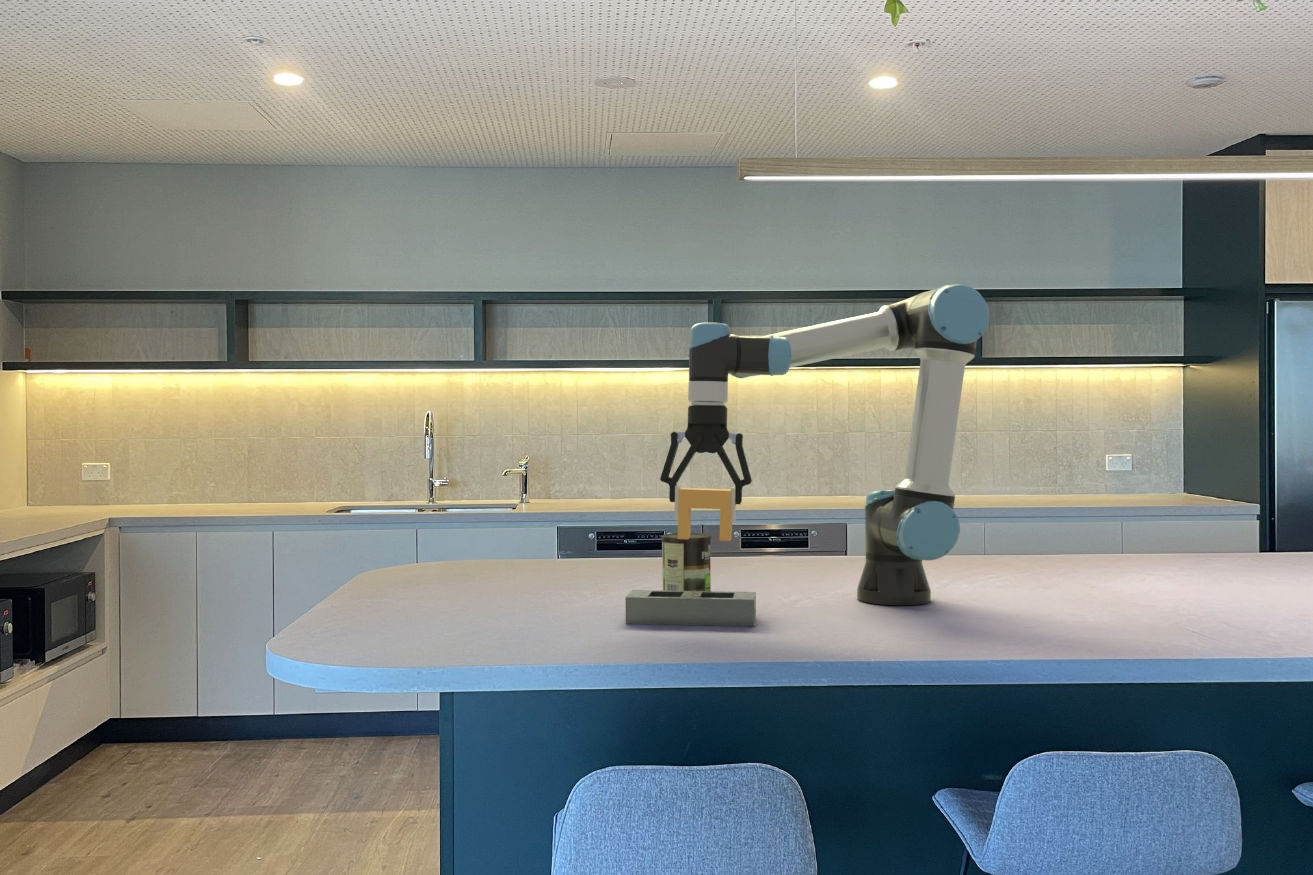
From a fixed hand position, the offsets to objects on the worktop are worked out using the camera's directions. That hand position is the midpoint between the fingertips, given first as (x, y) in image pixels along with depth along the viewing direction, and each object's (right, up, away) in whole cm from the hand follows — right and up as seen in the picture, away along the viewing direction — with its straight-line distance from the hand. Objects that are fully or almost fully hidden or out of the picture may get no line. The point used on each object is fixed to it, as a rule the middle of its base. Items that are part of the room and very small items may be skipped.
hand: (705, 520), depth 205 cm
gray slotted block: (-3, -19, -2) cm, 19 cm away
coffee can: (-3, -19, +18) cm, 26 cm away
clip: (0, -4, 0) cm, 4 cm away
